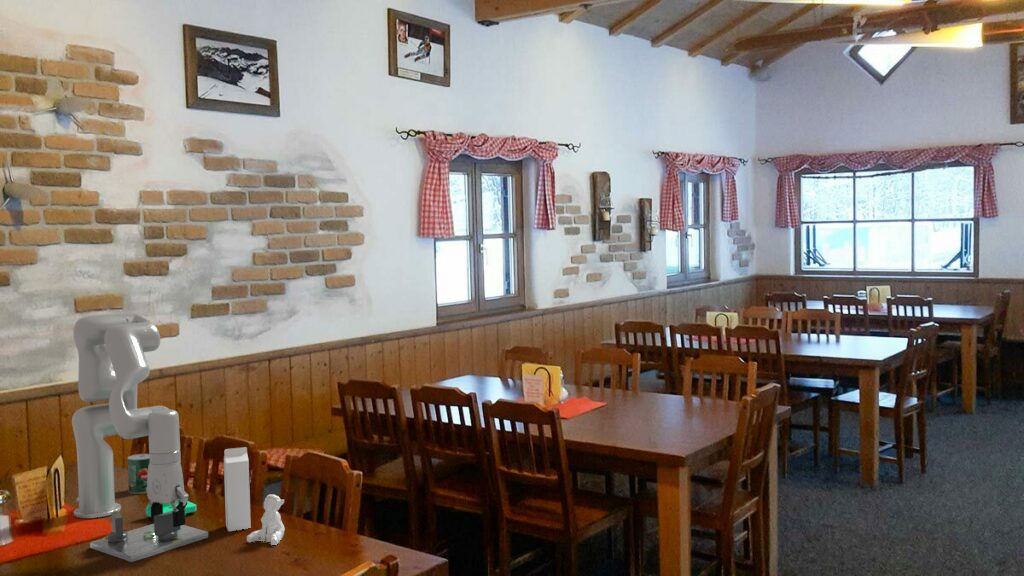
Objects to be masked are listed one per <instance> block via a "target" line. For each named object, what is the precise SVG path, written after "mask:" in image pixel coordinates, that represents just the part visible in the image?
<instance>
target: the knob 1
mask: <svg viewBox="0 0 1024 576" xmlns="http://www.w3.org/2000/svg"><path fill="white" fill-rule="evenodd" d="M110 516H111V532H109V533H108V534H107V536H108V542H111V543H116V542H122V541H125V540H127V539H128V532H127V531H126V530H124V521H123V519H124V517H123V516H122V514H121V513H120V511H118V510H113V512H112V513H111V515H110Z"/></svg>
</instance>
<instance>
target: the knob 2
mask: <svg viewBox="0 0 1024 576" xmlns="http://www.w3.org/2000/svg"><path fill="white" fill-rule="evenodd" d="M173 512H174V509H173V511H170V512H166V513H162V514H159V515H155V516H154V522H153V524H154V533H155V535H156V536H158V540H160V541H169V540H173V539H176V538H177V537H178V531H177V530H181V527H180V526H178V527H173Z"/></svg>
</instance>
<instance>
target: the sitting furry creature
mask: <svg viewBox="0 0 1024 576" xmlns="http://www.w3.org/2000/svg"><path fill="white" fill-rule="evenodd" d="M284 504H285V499H281V498H280V497H279V495H276V494H268V495H266V497H265V499H264V502H263V509H264V510H265V512H263V515H262V517H261V518H260V522H261V524H262V526H261V528H260V529H258V530H254V531H252V532H250V534H248V535H246V541H247V543H249V544H252V543H251V542H253V543H256V542H255V541H261V542H260V543H267V542H271V543H270V545H271V546H272V545H276V546H278V545H279V544H280V543H281V541H282V539H283V537H284V535H285V530H286V529H285V525H284V524H283V521H282V518H281V517H282V516H281V514H280V513H279V512H278V510H280V509H281V506H282V505H284ZM280 540H281V541H280ZM262 541H263V542H262ZM264 541H266V542H264ZM278 543H279V544H278ZM277 544H278V545H277Z"/></svg>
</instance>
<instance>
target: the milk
mask: <svg viewBox="0 0 1024 576" xmlns="http://www.w3.org/2000/svg"><path fill="white" fill-rule="evenodd" d="M223 452H224V456H223V477H224V479H223V480H224V502H225V503H224V504H225V505H224V507H225V508H224V509H225V526H226V529H227V532H233V531H234V532H235V531H236V530H237V531H243V530H242V529H244V530H249V529H248V528H252V526H251V523H252V522H251V521H252V520H251V519H252V518H251V496H250V493H251V492H250V469H249V468H250V464H249V463H250V461H249V456H248V447H246V446H245V447H234V448H226V449H224V451H223Z"/></svg>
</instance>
